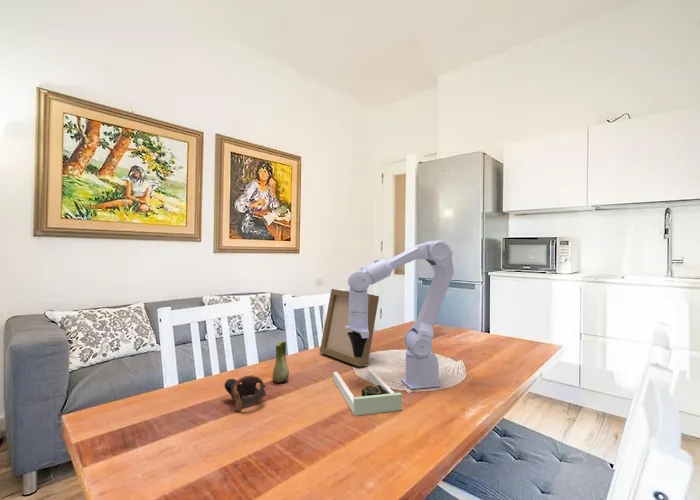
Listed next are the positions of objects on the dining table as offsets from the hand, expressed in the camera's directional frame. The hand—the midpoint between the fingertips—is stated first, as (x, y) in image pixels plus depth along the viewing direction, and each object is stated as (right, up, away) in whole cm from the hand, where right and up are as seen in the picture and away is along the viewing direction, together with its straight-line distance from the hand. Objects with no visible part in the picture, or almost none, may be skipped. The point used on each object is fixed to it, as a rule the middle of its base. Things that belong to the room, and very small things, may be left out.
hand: (358, 356), depth 106 cm
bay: (+2, -9, -6) cm, 11 cm away
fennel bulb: (-24, -9, +3) cm, 25 cm away
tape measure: (+5, -9, -11) cm, 15 cm away
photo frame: (-1, -9, +27) cm, 29 cm away
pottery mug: (-30, -9, -13) cm, 34 cm away
